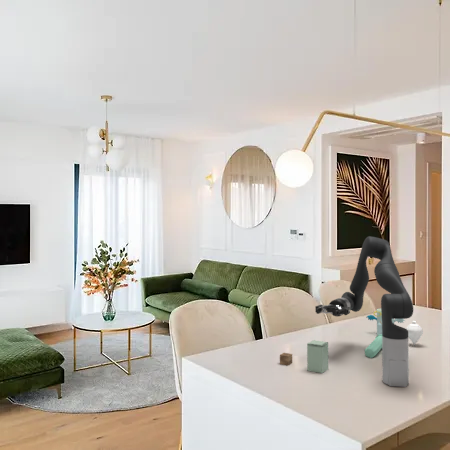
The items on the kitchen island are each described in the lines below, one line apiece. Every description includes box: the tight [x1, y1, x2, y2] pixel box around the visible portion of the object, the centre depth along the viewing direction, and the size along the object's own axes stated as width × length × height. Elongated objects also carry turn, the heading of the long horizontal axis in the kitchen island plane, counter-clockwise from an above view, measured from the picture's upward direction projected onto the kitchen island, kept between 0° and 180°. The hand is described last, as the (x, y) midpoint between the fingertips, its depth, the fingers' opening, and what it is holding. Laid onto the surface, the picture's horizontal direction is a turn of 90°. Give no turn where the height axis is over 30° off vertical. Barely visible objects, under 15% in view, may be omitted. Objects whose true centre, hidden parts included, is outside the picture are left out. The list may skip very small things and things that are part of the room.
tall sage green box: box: [306, 339, 329, 374], centre depth 192 cm, size 6×6×11 cm
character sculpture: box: [366, 308, 406, 336], centre depth 249 cm, size 20×12×13 cm, turn 60°
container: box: [364, 334, 382, 359], centre depth 219 cm, size 6×6×25 cm
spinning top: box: [405, 320, 424, 347], centre depth 228 cm, size 8×8×12 cm
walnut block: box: [279, 352, 293, 367], centre depth 201 cm, size 4×4×4 cm
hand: (326, 312), depth 200 cm, fingers open, 8 cm apart
